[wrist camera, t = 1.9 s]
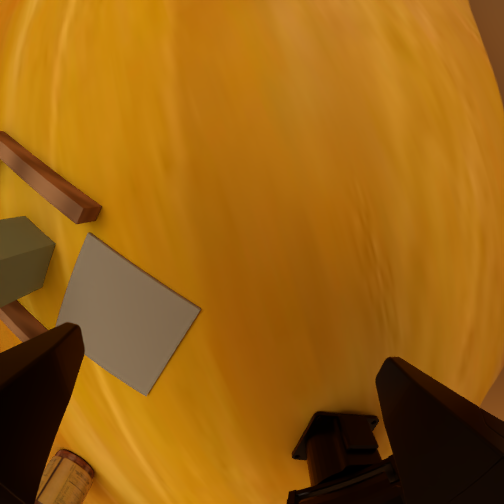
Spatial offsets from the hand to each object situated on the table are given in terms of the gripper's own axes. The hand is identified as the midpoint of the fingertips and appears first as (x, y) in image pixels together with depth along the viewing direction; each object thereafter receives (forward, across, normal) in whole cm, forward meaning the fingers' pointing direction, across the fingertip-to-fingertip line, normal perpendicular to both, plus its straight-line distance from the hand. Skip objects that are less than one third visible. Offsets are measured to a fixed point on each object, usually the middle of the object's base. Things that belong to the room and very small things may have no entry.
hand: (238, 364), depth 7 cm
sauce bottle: (+9, +17, +33) cm, 38 cm away
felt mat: (+12, +8, +8) cm, 16 cm away
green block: (+13, +17, +4) cm, 22 cm away
